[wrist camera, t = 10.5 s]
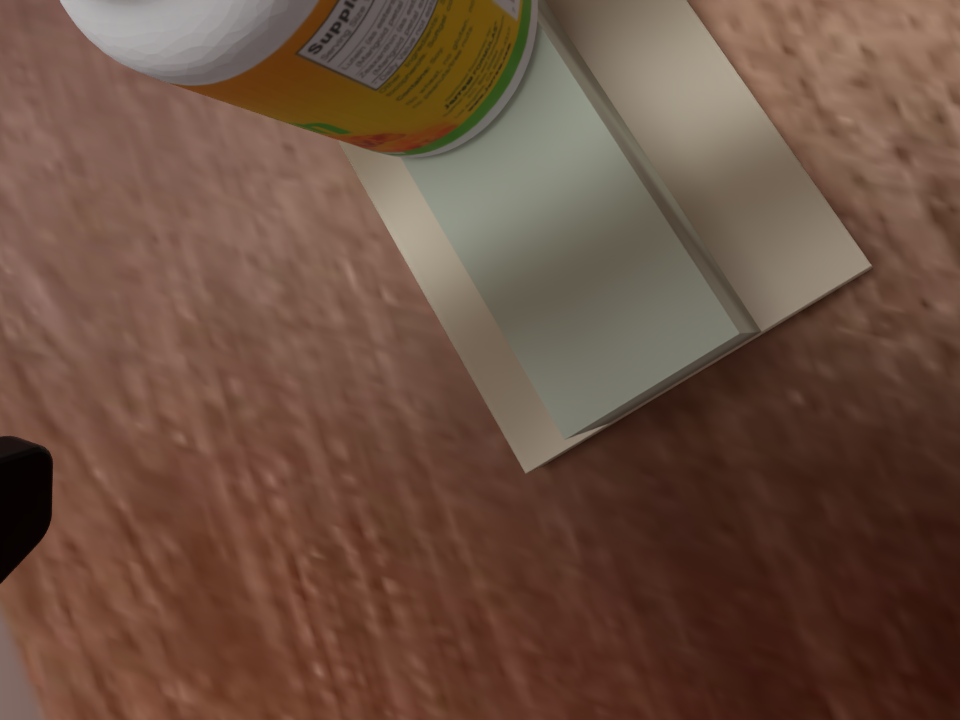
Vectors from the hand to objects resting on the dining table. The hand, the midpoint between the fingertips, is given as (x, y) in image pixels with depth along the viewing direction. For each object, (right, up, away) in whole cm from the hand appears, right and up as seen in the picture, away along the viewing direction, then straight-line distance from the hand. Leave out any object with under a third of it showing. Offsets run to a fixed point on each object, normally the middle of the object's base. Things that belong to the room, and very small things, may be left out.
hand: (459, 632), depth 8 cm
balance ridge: (+1, +10, +13) cm, 17 cm away
